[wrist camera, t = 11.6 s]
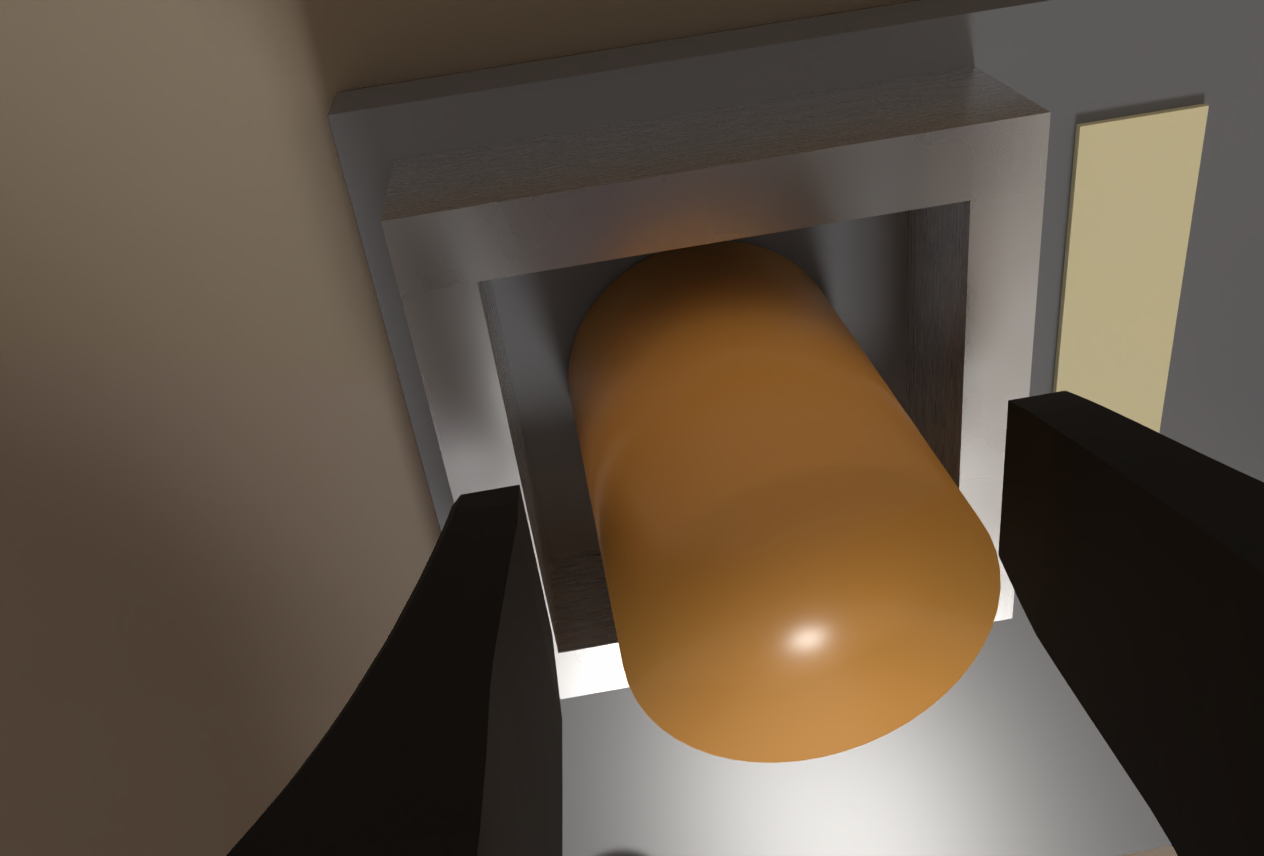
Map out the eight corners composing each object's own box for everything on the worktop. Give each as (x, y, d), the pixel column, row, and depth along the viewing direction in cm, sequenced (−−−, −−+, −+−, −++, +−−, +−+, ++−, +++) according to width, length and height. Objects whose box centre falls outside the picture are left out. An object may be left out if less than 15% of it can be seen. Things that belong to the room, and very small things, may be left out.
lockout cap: (842, 455, 15) (992, 722, 11) (591, 505, 15) (646, 794, 11) (833, 216, 14) (1010, 429, 9) (546, 270, 13) (593, 511, 9)
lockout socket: (956, 529, 16) (1012, 617, 15) (504, 609, 16) (507, 708, 14) (974, 65, 13) (1051, 112, 11) (393, 158, 13) (380, 221, 11)
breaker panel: (1439, 748, 22) (1498, 808, 21) (555, 913, 21) (559, 986, 20) (1774, -135, 14) (1907, -126, 12) (337, 92, 13) (321, 128, 12)
